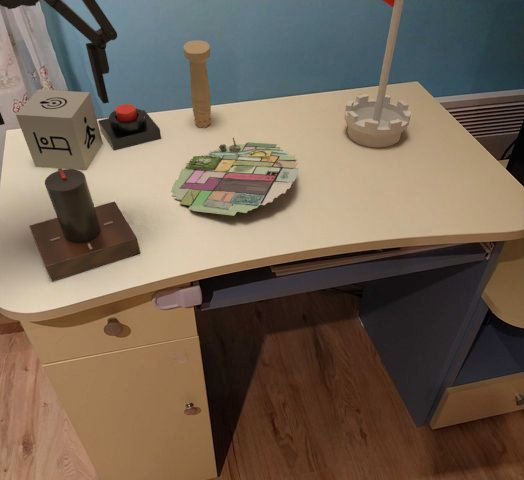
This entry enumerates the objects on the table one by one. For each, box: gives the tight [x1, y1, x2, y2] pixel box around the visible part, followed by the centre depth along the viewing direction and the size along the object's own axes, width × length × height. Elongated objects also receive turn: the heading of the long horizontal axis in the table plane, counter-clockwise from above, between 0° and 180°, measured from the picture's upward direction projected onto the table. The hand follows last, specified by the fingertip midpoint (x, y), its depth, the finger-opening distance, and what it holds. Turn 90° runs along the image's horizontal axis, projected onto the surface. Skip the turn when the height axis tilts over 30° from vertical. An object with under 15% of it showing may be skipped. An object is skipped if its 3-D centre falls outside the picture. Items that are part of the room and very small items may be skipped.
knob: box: [44, 168, 101, 243], centre depth 74 cm, size 6×6×9 cm
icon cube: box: [15, 88, 104, 171], centre depth 93 cm, size 10×10×10 cm
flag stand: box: [344, 0, 412, 148], centre depth 92 cm, size 13×13×30 cm
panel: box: [28, 201, 141, 282], centre depth 78 cm, size 14×11×3 cm
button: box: [114, 103, 137, 121], centre depth 99 cm, size 4×4×2 cm
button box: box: [97, 107, 162, 151], centre depth 101 cm, size 9×10×4 cm
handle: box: [183, 39, 212, 129], centre depth 99 cm, size 5×6×15 cm
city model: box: [170, 137, 300, 217], centre depth 90 cm, size 25×23×6 cm
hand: (53, 109), depth 66 cm, fingers open, 13 cm apart
